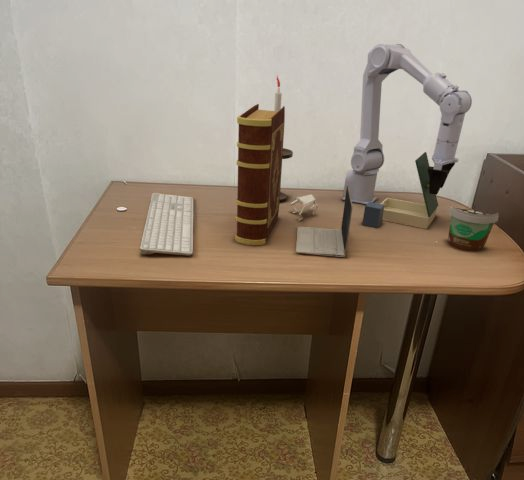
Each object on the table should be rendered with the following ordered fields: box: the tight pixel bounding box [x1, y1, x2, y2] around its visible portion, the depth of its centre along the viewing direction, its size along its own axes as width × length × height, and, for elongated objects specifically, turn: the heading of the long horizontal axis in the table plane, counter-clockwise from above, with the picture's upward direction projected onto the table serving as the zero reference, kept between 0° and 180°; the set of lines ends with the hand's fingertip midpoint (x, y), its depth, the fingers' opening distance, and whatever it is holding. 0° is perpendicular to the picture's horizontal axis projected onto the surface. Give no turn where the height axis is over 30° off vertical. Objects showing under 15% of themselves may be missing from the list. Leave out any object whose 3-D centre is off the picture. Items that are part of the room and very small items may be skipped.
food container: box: [447, 203, 500, 252], centre depth 135 cm, size 12×6×10 cm, turn 62°
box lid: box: [414, 151, 439, 217], centre depth 148 cm, size 16×12×4 cm
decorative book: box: [234, 103, 286, 246], centre depth 134 cm, size 22×8×30 cm, turn 168°
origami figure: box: [289, 193, 319, 222], centre depth 152 cm, size 12×8×5 cm
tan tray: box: [380, 197, 438, 230], centre depth 155 cm, size 16×12×3 cm
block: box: [361, 202, 385, 228], centre depth 149 cm, size 4×4×6 cm
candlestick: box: [273, 74, 294, 203], centre depth 157 cm, size 11×11×35 cm
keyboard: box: [139, 192, 194, 257], centre depth 142 cm, size 44×12×2 cm, turn 6°
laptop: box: [295, 185, 353, 258], centre depth 133 cm, size 18×12×13 cm
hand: (436, 190), depth 148 cm, fingers open, 7 cm apart
